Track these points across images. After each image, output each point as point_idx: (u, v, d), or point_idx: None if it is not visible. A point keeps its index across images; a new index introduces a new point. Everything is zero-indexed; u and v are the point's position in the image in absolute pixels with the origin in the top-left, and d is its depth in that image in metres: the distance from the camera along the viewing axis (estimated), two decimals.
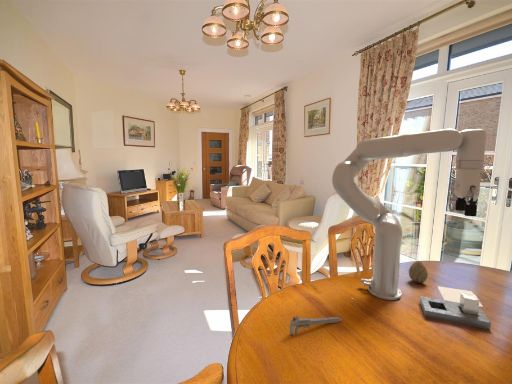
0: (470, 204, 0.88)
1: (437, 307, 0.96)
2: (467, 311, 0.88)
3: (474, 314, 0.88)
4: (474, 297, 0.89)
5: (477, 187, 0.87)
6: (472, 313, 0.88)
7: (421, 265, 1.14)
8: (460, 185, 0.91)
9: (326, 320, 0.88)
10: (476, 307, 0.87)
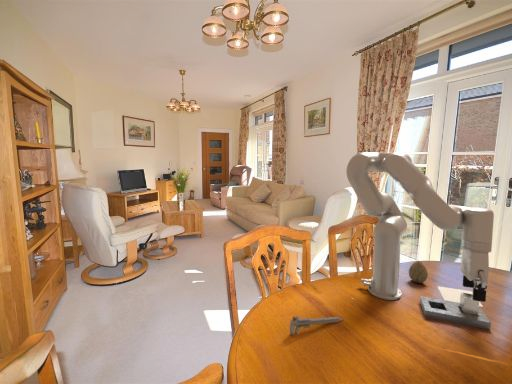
0: (479, 289, 0.83)
1: (437, 307, 0.96)
2: (467, 311, 0.88)
3: (474, 314, 0.88)
4: None
5: (486, 271, 0.82)
6: (472, 313, 0.88)
7: (421, 265, 1.14)
8: (467, 266, 0.86)
9: (326, 320, 0.88)
10: (476, 307, 0.87)
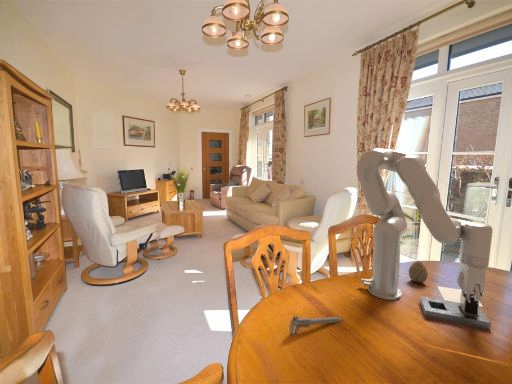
0: (471, 303, 0.87)
1: (437, 307, 0.96)
2: None
3: (474, 314, 0.88)
4: None
5: (482, 286, 0.83)
6: None
7: (421, 265, 1.14)
8: (464, 280, 0.87)
9: (326, 320, 0.88)
10: None
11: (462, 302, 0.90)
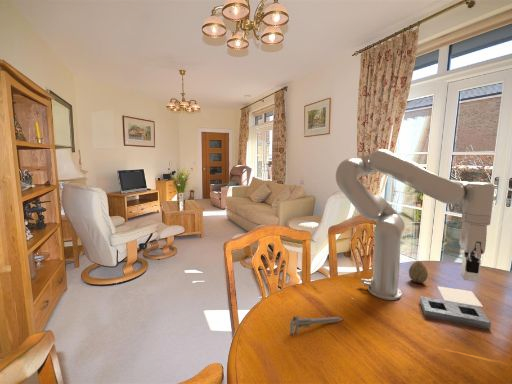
0: (472, 261, 0.87)
1: (437, 307, 0.96)
2: None
3: (476, 274, 0.89)
4: None
5: (483, 243, 0.84)
6: (474, 273, 0.89)
7: (421, 265, 1.14)
8: (465, 239, 0.88)
9: (326, 320, 0.88)
10: None
11: (464, 263, 0.91)
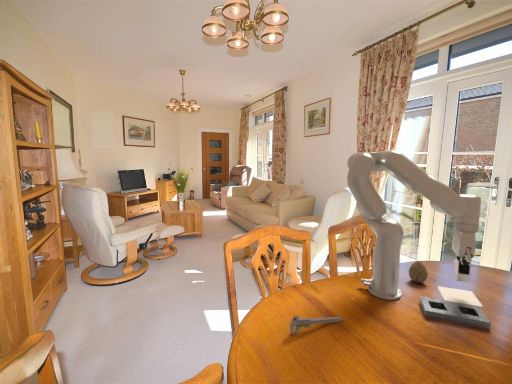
0: (463, 264, 1.00)
1: (437, 307, 0.96)
2: None
3: (467, 275, 1.01)
4: None
5: (472, 249, 0.96)
6: (465, 274, 1.01)
7: (421, 265, 1.14)
8: (457, 244, 1.00)
9: (326, 320, 0.88)
10: None
11: (456, 265, 1.03)
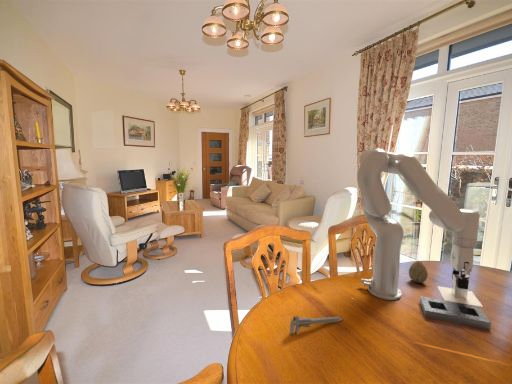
0: (462, 279, 0.99)
1: (437, 307, 0.96)
2: (459, 289, 1.02)
3: (464, 292, 1.02)
4: None
5: (470, 263, 0.97)
6: (462, 291, 1.02)
7: (421, 265, 1.14)
8: (455, 259, 1.01)
9: (326, 320, 0.88)
10: None
11: (454, 282, 1.04)
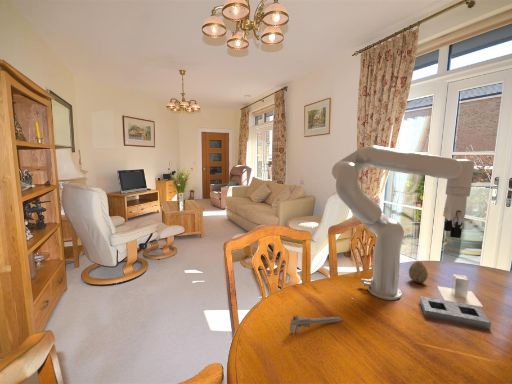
0: (455, 227, 0.98)
1: (437, 307, 0.96)
2: (459, 289, 1.02)
3: (464, 292, 1.02)
4: (464, 277, 1.02)
5: (463, 212, 0.97)
6: (462, 291, 1.02)
7: (421, 265, 1.14)
8: (448, 209, 1.01)
9: (326, 320, 0.88)
10: (466, 286, 1.01)
11: (454, 282, 1.04)
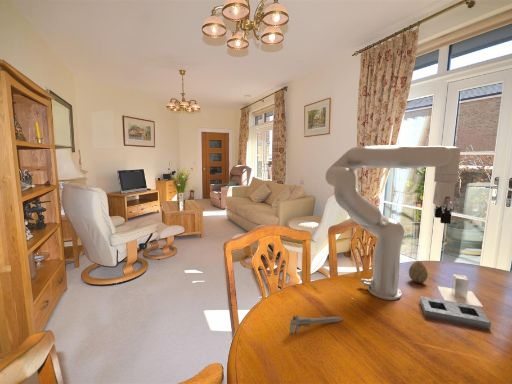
0: (445, 213, 1.00)
1: (437, 307, 0.96)
2: (459, 289, 1.02)
3: (464, 292, 1.02)
4: (464, 277, 1.02)
5: (451, 198, 0.99)
6: (462, 291, 1.02)
7: (421, 265, 1.14)
8: (437, 196, 1.03)
9: (326, 319, 0.88)
10: (466, 286, 1.01)
11: (454, 282, 1.04)
